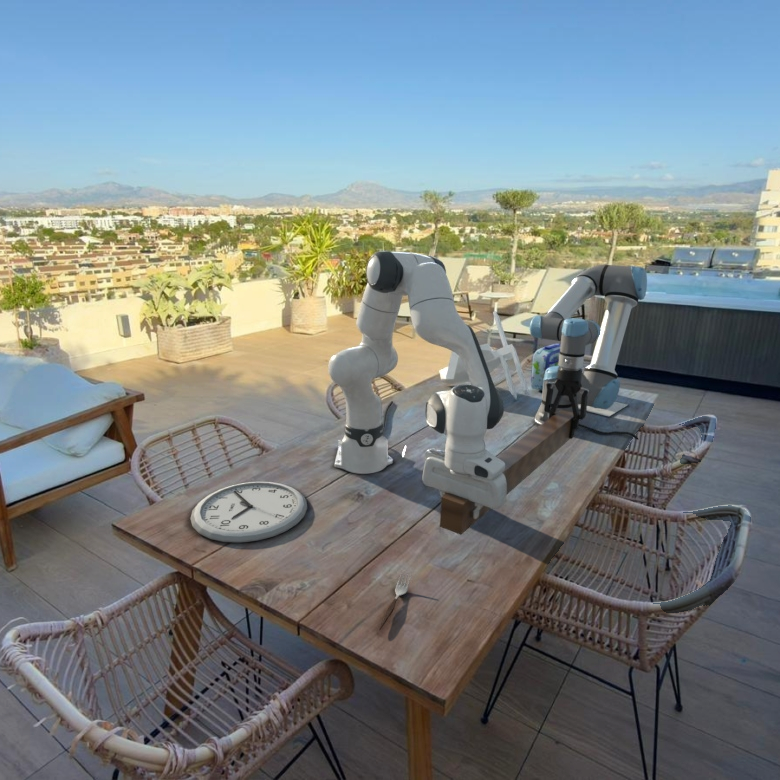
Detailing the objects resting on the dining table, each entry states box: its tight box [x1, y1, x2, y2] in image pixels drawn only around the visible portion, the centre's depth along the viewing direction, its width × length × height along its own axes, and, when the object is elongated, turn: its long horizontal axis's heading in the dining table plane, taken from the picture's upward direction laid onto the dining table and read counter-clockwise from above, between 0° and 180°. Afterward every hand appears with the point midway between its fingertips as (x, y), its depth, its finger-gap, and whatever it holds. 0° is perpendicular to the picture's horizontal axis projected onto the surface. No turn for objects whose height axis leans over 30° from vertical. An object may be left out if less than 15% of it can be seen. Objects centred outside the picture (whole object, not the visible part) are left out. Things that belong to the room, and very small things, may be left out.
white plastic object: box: [438, 310, 531, 400], centre depth 245 cm, size 37×45×31 cm
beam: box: [439, 410, 576, 536], centre depth 147 cm, size 77×6×8 cm, turn 143°
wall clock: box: [190, 481, 308, 544], centre depth 139 cm, size 30×2×30 cm
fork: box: [379, 571, 412, 631], centre depth 105 cm, size 3×16×2 cm, turn 160°
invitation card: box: [578, 401, 629, 418], centre depth 226 cm, size 21×1×15 cm
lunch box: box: [530, 343, 561, 391], centre depth 249 cm, size 26×11×21 cm, turn 134°
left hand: (461, 512), depth 121 cm, fingers closed on beam, 5 cm apart
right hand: (561, 435), depth 174 cm, fingers closed on beam, 6 cm apart
